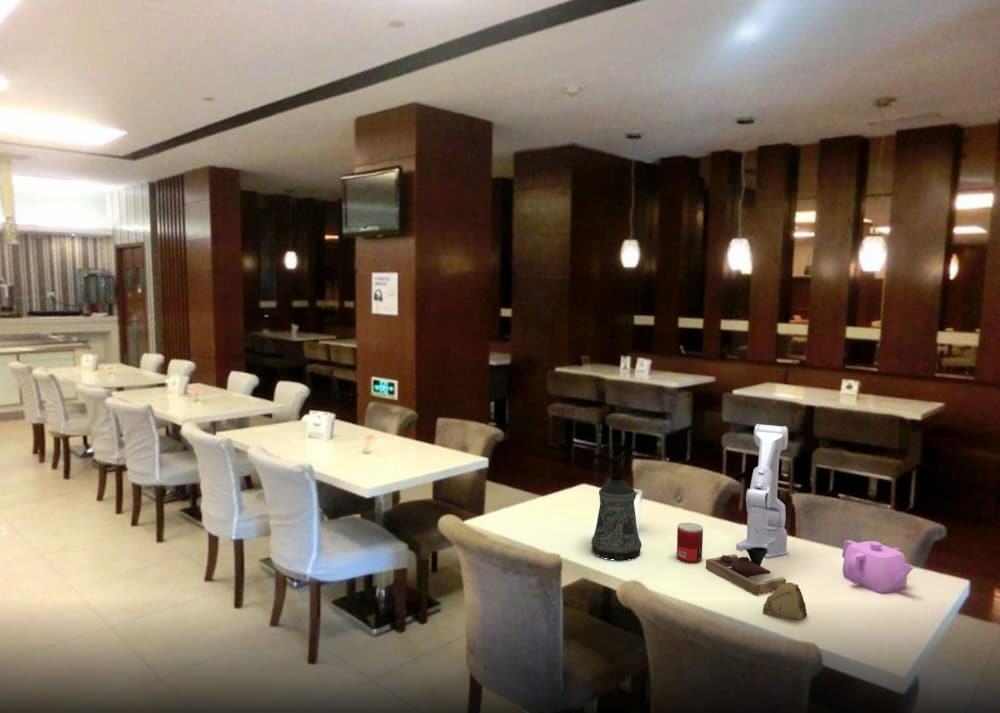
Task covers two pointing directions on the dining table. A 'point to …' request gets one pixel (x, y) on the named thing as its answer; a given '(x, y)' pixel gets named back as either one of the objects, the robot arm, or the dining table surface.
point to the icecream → (744, 566)
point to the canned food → (689, 542)
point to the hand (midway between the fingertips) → (755, 570)
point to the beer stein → (616, 522)
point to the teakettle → (875, 566)
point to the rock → (786, 602)
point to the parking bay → (742, 577)
